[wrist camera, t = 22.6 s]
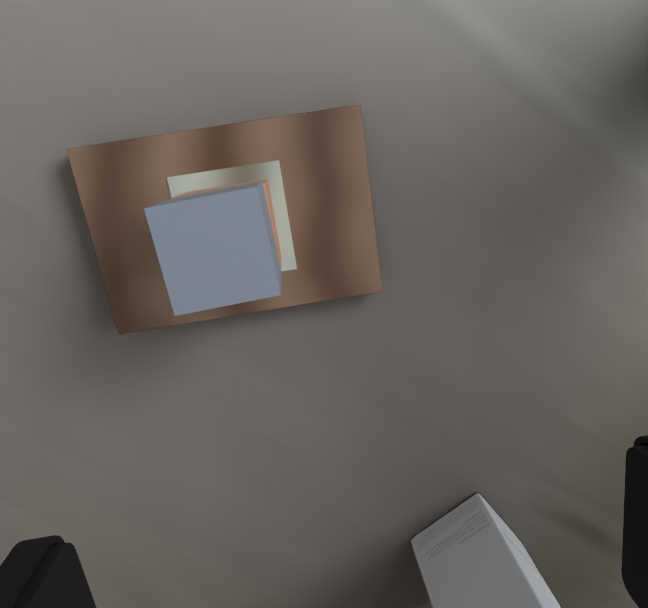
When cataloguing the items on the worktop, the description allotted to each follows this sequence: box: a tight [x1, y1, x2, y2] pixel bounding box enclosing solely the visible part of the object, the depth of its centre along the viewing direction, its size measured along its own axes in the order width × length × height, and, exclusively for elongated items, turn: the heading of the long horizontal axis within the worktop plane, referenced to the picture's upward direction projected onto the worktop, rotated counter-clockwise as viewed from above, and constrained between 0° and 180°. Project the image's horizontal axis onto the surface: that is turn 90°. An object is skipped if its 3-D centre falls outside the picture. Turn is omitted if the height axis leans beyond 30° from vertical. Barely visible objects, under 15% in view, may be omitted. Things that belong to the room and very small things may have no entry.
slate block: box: [144, 181, 281, 316], centre depth 25 cm, size 5×5×5 cm
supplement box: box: [411, 493, 561, 608], centre depth 37 cm, size 7×7×13 cm
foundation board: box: [66, 105, 382, 334], centre depth 33 cm, size 18×12×2 cm, turn 98°
